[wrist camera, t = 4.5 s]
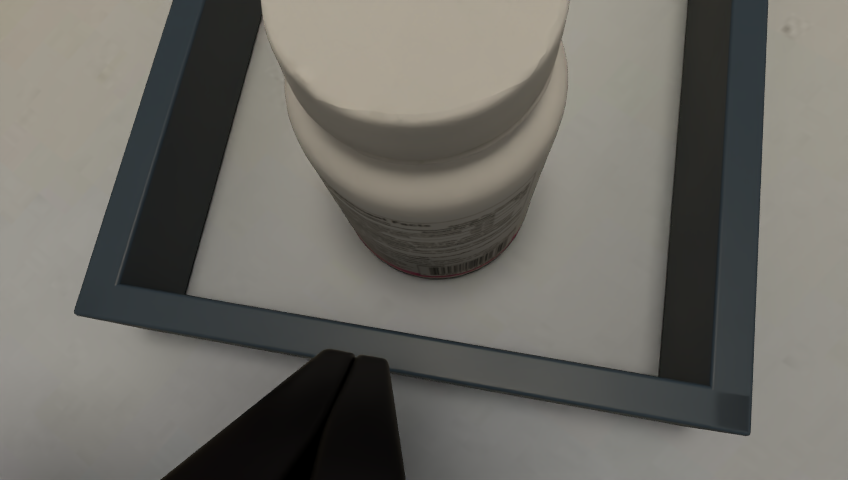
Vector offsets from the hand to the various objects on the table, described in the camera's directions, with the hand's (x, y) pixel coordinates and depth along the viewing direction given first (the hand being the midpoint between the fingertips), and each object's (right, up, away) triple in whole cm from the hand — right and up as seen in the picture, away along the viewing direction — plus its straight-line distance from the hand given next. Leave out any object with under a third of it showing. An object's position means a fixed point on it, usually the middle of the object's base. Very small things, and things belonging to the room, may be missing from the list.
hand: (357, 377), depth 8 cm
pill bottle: (+1, +3, +8) cm, 9 cm away
